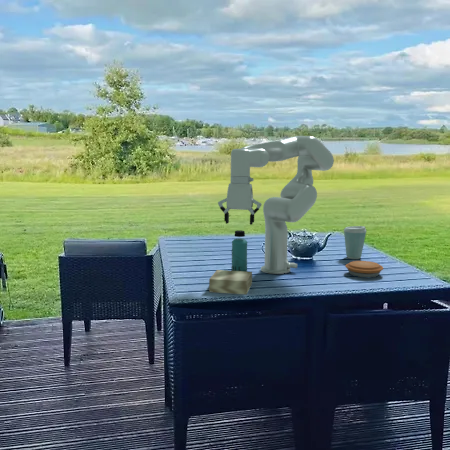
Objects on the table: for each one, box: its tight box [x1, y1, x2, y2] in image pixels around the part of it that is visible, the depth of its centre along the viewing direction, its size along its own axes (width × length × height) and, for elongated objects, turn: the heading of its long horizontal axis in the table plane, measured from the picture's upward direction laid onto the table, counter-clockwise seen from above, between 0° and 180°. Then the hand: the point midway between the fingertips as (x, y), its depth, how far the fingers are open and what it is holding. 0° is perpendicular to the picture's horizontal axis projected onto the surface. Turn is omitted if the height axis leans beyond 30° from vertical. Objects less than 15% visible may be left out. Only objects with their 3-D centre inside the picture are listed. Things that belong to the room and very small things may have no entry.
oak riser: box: [208, 269, 253, 295], centre depth 212 cm, size 14×14×5 cm
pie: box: [344, 260, 384, 278], centre depth 233 cm, size 15×16×5 cm
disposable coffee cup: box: [343, 225, 367, 260], centre depth 263 cm, size 11×11×15 cm
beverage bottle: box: [230, 229, 248, 272], centre depth 223 cm, size 6×7×20 cm
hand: (239, 223), depth 220 cm, fingers open, 9 cm apart
